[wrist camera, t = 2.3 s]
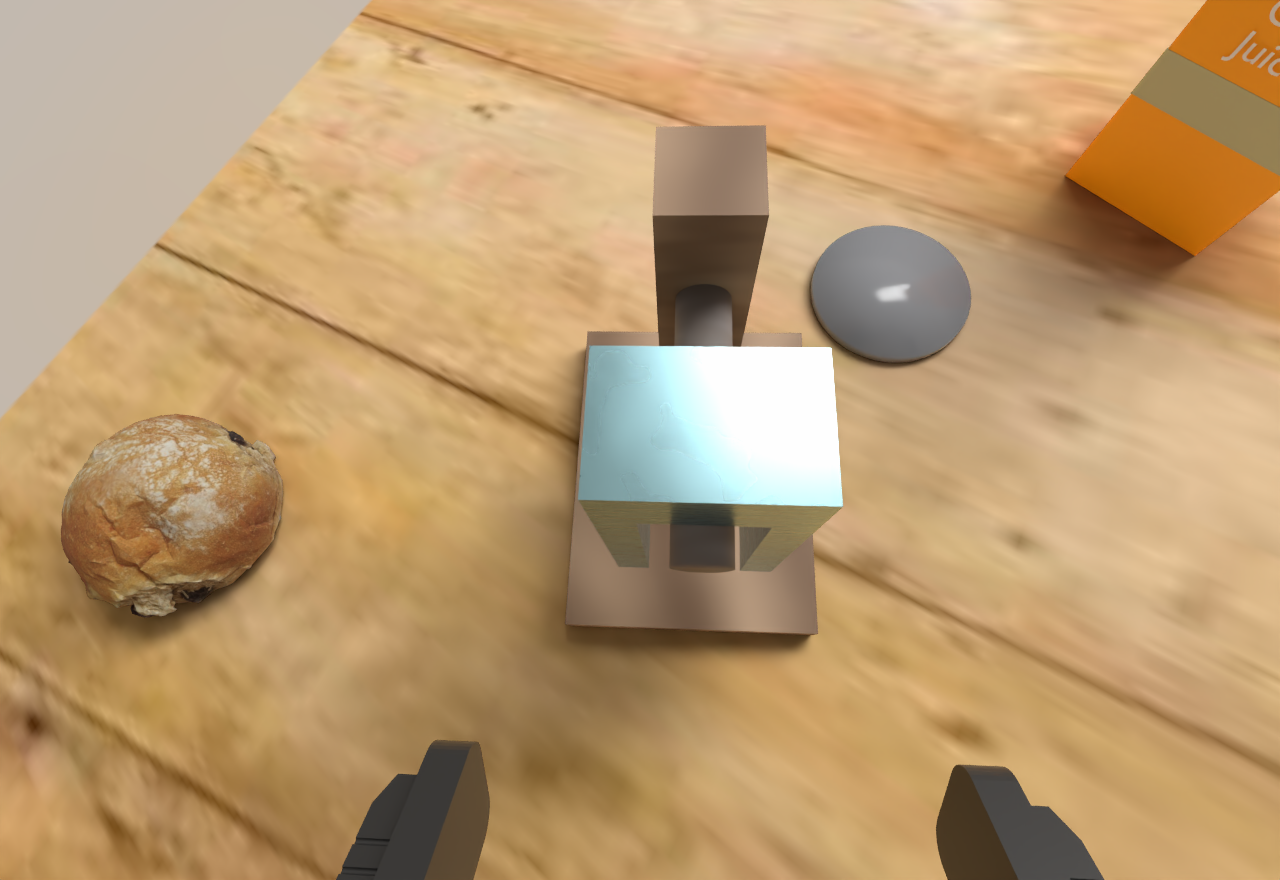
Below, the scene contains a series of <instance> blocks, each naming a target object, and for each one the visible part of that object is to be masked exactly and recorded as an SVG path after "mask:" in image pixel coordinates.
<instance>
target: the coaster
mask: <svg viewBox="0 0 1280 880" xmlns="http://www.w3.org/2000/svg"><path fill="white" fill-rule="evenodd" d="M811 301H812V305H813V309H814V312H815V314H816V316H817V318H818V320H819V322H820V323H821V325H822V327H823V328H824V329H825V330H826V332H827V333H828V334H829V335H830V336H831V337H832V338H833V339H834V340H835V341H836V342H838V343H839V344H840V345H842V346H843V347H844V348H846V349H848V350H850V351H851V352H853V353H855V354H858V355H860V356H862V357H865V358H868V359H872V360H876V361H881V362H890V363H902V362H911V361H916V360H920V359H923V358H926V357H928V356H931V355H933V354H935V353H936V352H938V351H940V350H941V349H943V348H944V347H945V346H946V345H948V344H949V343H950V342H951V341H952V340H953V338H954V337H955V336H956V335H957V334H958V333H959V332H960V330H961V329H962V327H963V325H964V324H965V322H966V319H967V317H968V315H969V310H970V305H971V292H970V286H969V282H968V279H967V276H966V274H965V272H964V270H963V268H962V266H961V265H960V263H959V262H958V261H957V259H956V258H955V257H954V256H953V255H952V254H951V253H950V252H949V250H947V249H946V248H945V247H944V246H943V245H941V244H940V243H939V242H937V241H935V240H934V239H932V238H930V237H928V236H926V235H924V234H922V233H920V232H917V231H914V230H911V229H907V228H903V227H897V226H871V227H865V228H861V229H858V230H855V231H852V232H850V233H847V234H845V235H844V236H842V237H840V238H839V239H837V240H836V241H835V242H833V243H832V244H831V245H830V246H829V247H828V248H827V249H826V250H825V252H824V253H823V254H822V256H821V257H820V259H819V261H818V263H817V265H816V268H815V271H814V274H813V277H812V281H811Z"/></svg>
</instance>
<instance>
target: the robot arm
mask: <svg viewBox="0 0 1280 880" xmlns="http://www.w3.org/2000/svg"><path fill="white" fill-rule="evenodd" d="M489 808H490V801H489V792H488V787H487V781H486V775H485V770H484V764H483V759H482V753H481V748H480V745H479V743H478V742H469V741H446V740H435V741H434V742H433V743H432V744H431V745H430V747H429V749H428V751H427V753H426V755H425V758H424V760H423V762H422V765H421V767H420V769H419V772H418V774H417V775H409V774H398V775H397V776H396V777H395V778H394V779H393V780H392V781H391V782H390V784H389V785H388V786H387V787H386V788H385V789H384V790H383V791H382V793H381V794H380V795H379V796H378V797H377V798H376V799H375V800H374V801H373V803H372V804H371V807H370V809H369V811H368V813H367V815H366V817H365V819H364V821H363V824H362V826H361V828H360V830H359V832H358V834H357V836H356V842H355V844H353V845H352V847H351V849H350V851H349V853H348V855H347V858H346V860H345V862H344V864H343V866H342V872H341V874H339V875H338V877H337V879H336V880H473V879H474V875H475V872H476V868H477V865H478V861H479V857H480V854H481V850H482V847H483V843H484V840H485V836H486V831H487V826H488V819H489ZM936 836H937V845H938V850H939V855H940V859H941V862H942V865H943V868H944V871H945V873H946V876H947V879H948V880H1104V878H1103V877H1102V875H1101V873H1100V872H1099V870H1098V868H1097V866H1096V865H1095V863H1094V861H1093V860H1092V858H1091V856H1090V854H1089V853H1088V851H1087V849H1086V848H1085V846H1084V844H1083V842H1082V841H1081V840H1080V839H1079V838H1078V837H1077V836H1076V834H1075V833H1074V832H1073V831H1072V830H1071V829H1070V828H1069V827H1068V826H1067V825H1066V824H1065V823H1064V822H1063V821H1062V820H1061V819H1060V818H1059V817H1058V816H1057V815H1056V814H1055V813H1054V812H1053V811H1052V810H1051V809H1050V808H1049V807H1045V806H1031V805H1030V803H1029V801H1028V799H1027V797H1026V796H1025V794H1024V792H1023V790H1022V788H1021V786H1020V784H1019V783H1018V781H1017V779H1016V777H1015V776H1014V775H1013V773H1012V772H1011V771H1010V770H1009V769H1007V768H1006V767H999V766H976V765H956V766H955V767H954V768H953V770H952V773H951V777H950V780H949V783H948V786H947V790H946V793H945V796H944V799H943V803H942V806H941V809H940V812H939V816H938V819H937V825H936Z"/></svg>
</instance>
